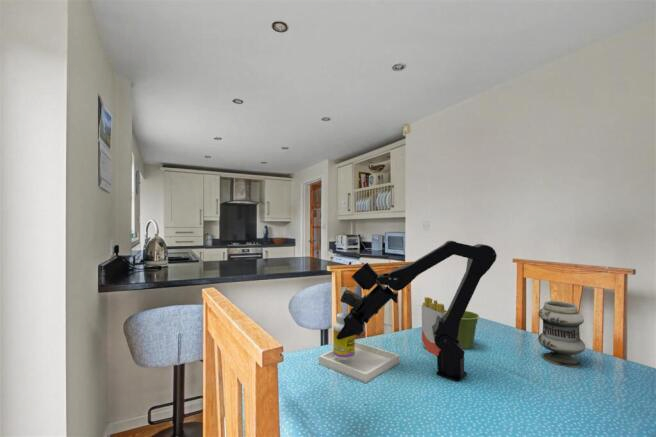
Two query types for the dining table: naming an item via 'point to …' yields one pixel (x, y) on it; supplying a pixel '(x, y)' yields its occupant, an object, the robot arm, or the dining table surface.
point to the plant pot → (467, 329)
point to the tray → (362, 362)
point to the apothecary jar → (561, 333)
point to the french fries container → (430, 323)
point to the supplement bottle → (343, 341)
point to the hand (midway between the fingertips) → (339, 334)
